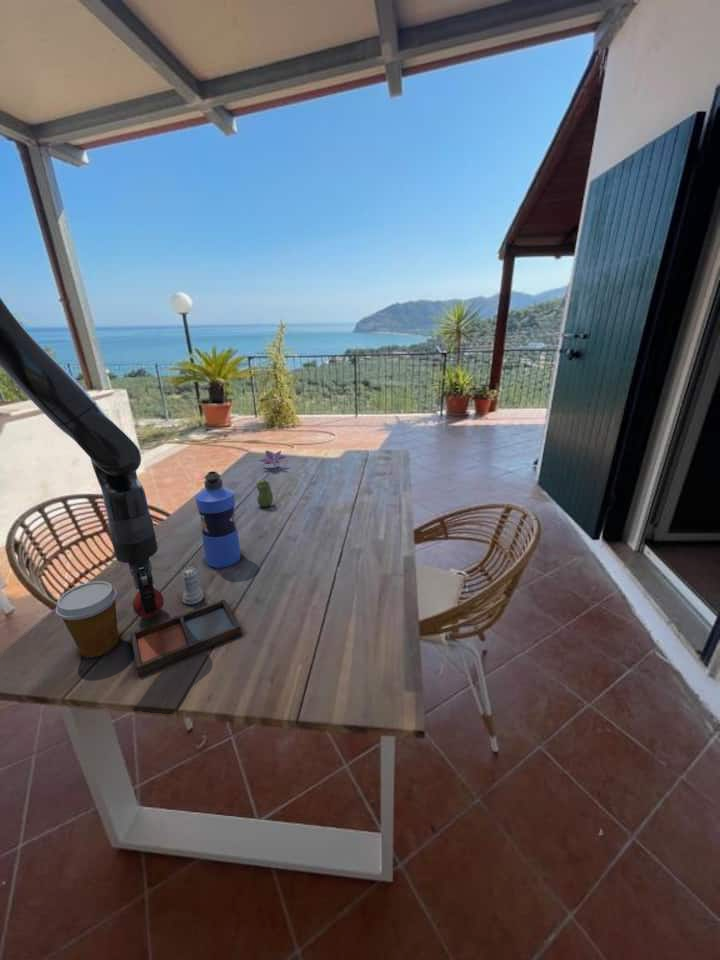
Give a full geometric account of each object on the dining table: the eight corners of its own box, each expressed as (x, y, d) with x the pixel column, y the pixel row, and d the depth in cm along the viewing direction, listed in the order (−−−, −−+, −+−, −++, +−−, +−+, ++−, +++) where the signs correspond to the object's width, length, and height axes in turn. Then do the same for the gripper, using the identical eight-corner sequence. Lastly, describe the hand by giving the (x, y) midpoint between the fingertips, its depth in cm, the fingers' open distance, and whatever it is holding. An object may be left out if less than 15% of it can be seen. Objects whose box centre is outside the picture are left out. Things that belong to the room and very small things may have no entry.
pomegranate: (131, 619, 84) (123, 587, 81) (157, 604, 88) (150, 574, 85) (145, 629, 81) (137, 597, 78) (171, 614, 85) (165, 583, 82)
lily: (292, 469, 182) (286, 449, 183) (285, 467, 171) (279, 446, 171) (268, 476, 183) (262, 457, 184) (259, 475, 172) (253, 454, 172)
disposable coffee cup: (97, 669, 71) (81, 616, 67) (58, 657, 73) (40, 605, 69) (138, 634, 79) (127, 584, 75) (102, 624, 82) (89, 576, 78)
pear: (267, 510, 136) (265, 483, 133) (254, 508, 138) (252, 481, 135) (276, 504, 141) (274, 478, 138) (263, 502, 143) (261, 476, 140)
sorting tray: (139, 676, 69) (136, 667, 69) (132, 640, 78) (129, 632, 77) (241, 634, 79) (240, 626, 79) (225, 606, 88) (224, 598, 87)
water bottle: (207, 571, 101) (193, 481, 92) (204, 554, 109) (191, 469, 100) (243, 563, 105) (233, 475, 96) (238, 547, 112) (228, 465, 104)
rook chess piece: (194, 591, 93) (189, 562, 90) (208, 596, 91) (203, 567, 88) (179, 602, 89) (173, 572, 86) (193, 608, 87) (187, 577, 84)
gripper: (108, 524, 81) (125, 592, 87) (114, 554, 70) (132, 630, 76) (148, 516, 85) (161, 581, 91) (159, 543, 74) (174, 615, 80)
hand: (148, 603), depth 83 cm, fingers closed on pomegranate, 6 cm apart
